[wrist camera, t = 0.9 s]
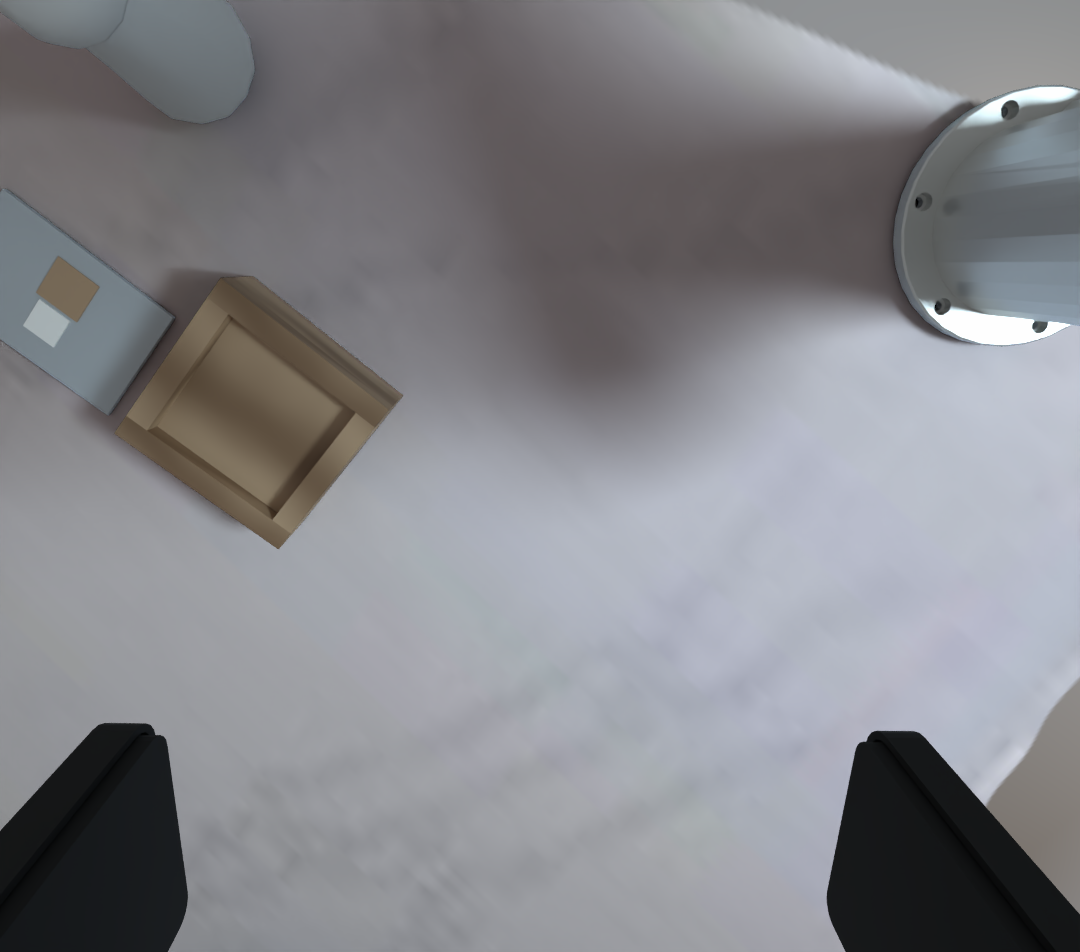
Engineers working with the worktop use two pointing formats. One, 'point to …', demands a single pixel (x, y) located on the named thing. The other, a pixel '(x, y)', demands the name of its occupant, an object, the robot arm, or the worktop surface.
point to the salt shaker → (154, 48)
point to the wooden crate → (257, 409)
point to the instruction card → (72, 308)
